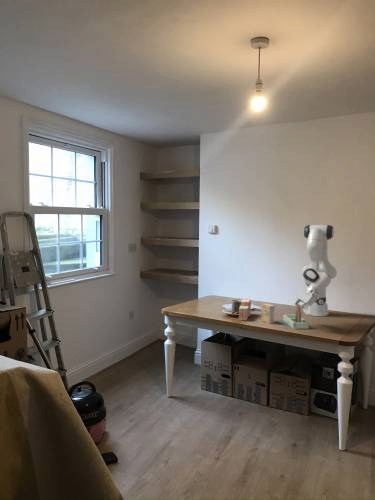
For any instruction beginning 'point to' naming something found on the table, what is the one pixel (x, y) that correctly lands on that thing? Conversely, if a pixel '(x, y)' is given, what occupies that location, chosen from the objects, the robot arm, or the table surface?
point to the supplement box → (267, 313)
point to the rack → (290, 321)
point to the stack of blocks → (245, 309)
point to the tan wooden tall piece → (298, 315)
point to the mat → (289, 325)
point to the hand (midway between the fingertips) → (297, 306)
